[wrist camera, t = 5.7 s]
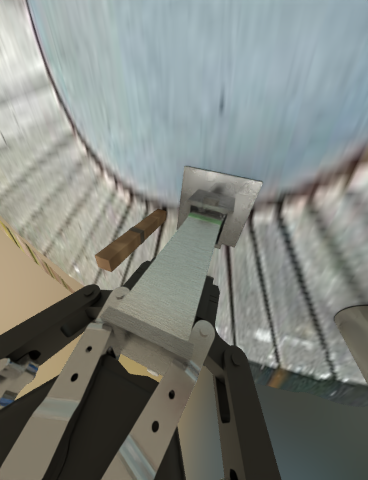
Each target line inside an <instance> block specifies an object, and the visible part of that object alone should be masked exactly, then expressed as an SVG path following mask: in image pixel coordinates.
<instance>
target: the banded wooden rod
mask: <svg viewBox="0 0 368 480" xmlns="http://www.w3.org/2000/svg"><path fill="white" fill-rule="evenodd" d="M166 212H167V211H163V210H160V209H157V210H156V211H154V212H153V213H152V214H150V215H149V216H148V217H146V218H145V219H143V220H142V221H141V222H139V223H138V224H137V225H135V226H134V227H132V228H130V229H129V230H128V231H127V232H126V233H124V234H123V235H122V236H120V237H119V238H118V239H116V240H115V241H114V242H112V243H111V244H109V245H108V246H107V247H105V248H104V249H103V250H101V251H100V252H99V253H97V254H96V255H95V258H96V261H97V264H98V267H100V268H102V269H105V270H107V271H110V272H112V271H113V270H114V269H115V268H116V267H117V266H119V265H120V264H121V263H122V262H123V261H124V260H125V259H126V258H127V257H128V256H129V255H130V254H131V253H132V252H133V251H134V250H135V249H136V248H137V247H138V246H139V245H140V244H142V243H143V242H144V241H145V240H146V239H147V238H148V237H149V236H150V235H151V234H152V233H153V232H154V231H155V230H156V229H157V228H158V227H159V226H160V225H161V224H162V223H163V222H164V221H165V220H166Z"/></svg>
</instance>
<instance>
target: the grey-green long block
mask: <svg viewBox="0 0 368 480" xmlns="http://www.w3.org/2000/svg"><path fill="white" fill-rule="evenodd" d="M221 223H222V217H219V216H215V215H211V214H207V213H204V212H200V211H196V210H193V211H192V212H191V213H190V214H189V215H188V217H187V219H186V220H185V221H184V222H183V224H182V225H181V226H180V228H179V229H178V230H177V232H176V233H175V234H174V235H173V237H172V238H171V239H170V241H169V242H168V243H167V244H166V246H165V247H164V248H163V250H162V251H161V252H160V253H159V255H158V256H157V257H156V259H155V260H154V261H153V263H152V264H151V265H150V266H149V268H148V269H147V270H146V272H145V273H144V274H143V275H142V277H141V278H140V279H139V281H138V282H137V283H136V284H135V286H134V287H133V288H132V290H131V291H130V292H129V294H128V295H127V296H126V297H125V299H124V300H123V301H122V303H121V304H120V305H119V306H118V308H117V309H115V308H113V307H111V306H108V308H107V309H106V310H105V311H104V312H103V314H102V315H101V316H100V319H101V321H102V323H103V324H104V325H107V326H109V327H111V328H113V330H114V333H115V335H116V338H117V341H118V344H119V346H120V349H121V354H123V355H125V356H126V357H128V358H130V359H132V360H134V361H136V362H138V363H140V364H141V365H143V366H145V367H147V368H149V369H151V370H153V371H155V372H157V373H159V374H160V375H162V376H164V374H165V373H166V371H167V369H168V368H169V366H170V364H171V363H172V361H173V359H174V358H175V359H177V360H178V361H180V362H182V363H184V364H185V365H187V366H188V365H189V363H190V361H191V357H192V353H193V349H194V344H191V343H189V342H188V340H189V336H190V333H191V329H192V326H193V322H194V318H195V315H196V311H197V308H198V304H199V300H200V297H201V293H202V290H203V286H204V282H205V279H206V275H207V272H208V268H209V264H210V261H211V257H212V254H213V250H214V246H215V243H216V239H217V235H218V232H219V229H220V226H221Z"/></svg>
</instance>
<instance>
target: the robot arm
mask: <svg viewBox="0 0 368 480" xmlns="http://www.w3.org/2000/svg"><path fill="white" fill-rule="evenodd" d="M155 259H156V257H154V258H153V259H152V260H151V261H146V262H144V263H142V264H141V265H140V267H139V268H138V269H137V270H136V271H135V272H134V274H133V275H132V276H131V277H130V278H129V279H128V281H127V282H126V283H125V284H124V285H123V286H122V287H118V288H116V289H114V290H100V288H99V286H97V285H94V284H92V285H87V286H85V287H83V288H82V289H80V290H78V291H76V292H75V293H73V294H71V295H69V296H68V297H66V298H64V299H63V300H61V301H59V302H57V303H55V304H54V305H52V306H50V307H49V308H47V309H45V310H43V311H42V312H40V313H38V314H36V315H35V316H33V317H31V318H29V319H28V320H26V321H24V322H22V323H21V324H19V325H17V326H15V327H14V328H12V329H10V330H9V331H7V332H5V333H3V334H2V335H0V480H186V477H185V471H184V465H183V459H182V452H181V446H180V439H179V434H178V427H177V424H178V422H179V420H180V417H181V415H182V413H183V410H184V408H185V406H186V404H187V401H188V399H189V397H190V395H191V392H192V390H193V388H194V385H195V383H196V381H197V378H198V375H199V372H200V369H201V367H202V365H203V364H204V365H205V366H206V367H207V368H208V369H209V370H210V371H211V372H212V373H213V381H214V390H215V398H216V407H217V416H218V424H219V433H220V441H221V449H222V459H223V468H224V476H225V478H222V479H220V480H281V477H280V473H279V470H278V466H277V463H276V459H275V456H274V452H273V448H272V445H271V441H270V438H269V434H268V431H267V427H266V423H265V420H264V416H263V413H262V409H261V406H260V402H259V399H258V395H257V391H256V388H255V384H254V381H253V377H252V373H251V370H250V366H249V363H248V359H247V357H246V355H245V353H244V352H243V351H242V350H241V349H240V348H239V347H237V346H234V345H231V346H230V345H228V344H227V343H226V342H225V341H224V340H223V339H222V338H221V337H220V336H219V335H218V333H217V331H216V328H215V320H216V314H217V307H218V301H219V294H220V291H219V288H218V286H216V285H213V279H214V278H213V277H210V276H207V275H206V279H205V282H204V286H203V290H202V293H201V297H200V300H199V304H198V308H197V311H196V315H195V318H194V322H193V326H192V329H191V333H190V336H189V340H188V342H189V343H191V344H194V349H193V353H192V357H191V361H190V363H189V365H188V366H187V365H185V364H184V363H182V362H180V361H178V360H177V359H175V358H174V359H173V361H172V363H171V364H170V366H169V368H168V369H167V371H166V373H165V374H164V376H163V378H162V379H161V381H160V383H159V382H157V381H156V380H154V379H152V378H150V377H148V376H141V375H133V374H129V373H128V372H127V370H126V369H125V368H124V367H123V366H122V365H121V363H120V362H119V361H118V360H119V357H120V354H121V349H120V346H119V344H118V341H117V338H116V335H115V333H114V330H113V328H111V327H109V326H107V325H104V324H103V323H102V321H101V319H100V316H101V315H102V314H103V312H104V311H105V310H106V309H107V308H108V306H111V307H113V308H115V309H117V308H118V306H119V305H120V304H121V303H122V301H123V300H124V299H125V297H126V296H127V295H128V294H129V292H130V291H131V290H132V288H133V287H134V286H135V284H136V283H137V282H138V281H139V279H140V278H141V277H142V275H143V274H144V273H145V272H146V270H147V269H148V268H149V266H150V265H151V264H152V263H153V261H154V260H155ZM334 321H335V323H336V325H337V327H338V329H339V331H340V333H341V335H342V337H343V339H344V340H345V342H346V344H347V346H348V348H349V350H350V352H351V354H352V356H353V358H354V360H355V361H356V363H357V365H358V367H359V369H360V371H361V373H362V375H363V377H364V378H365V380H366V382H367V384H368V306H356V307H351V308H348V309H345V310H342V311H341V312H339V313H338V314H337V315H336V316H335V319H334ZM83 332H84V333H83ZM82 333H83V335H82V336H81V338H80V340H79V342H78V343H77V345H76V347H75V349H74V350H73V352H72V354H71V355H70V357H69V359H68V361H67V362H66V364H65V366H64V368H63V369H62V371H61V373H60V374H59V375H58V376H56V377H54V378H53V379H51V380H49V381H47V382H46V383H44V384H42V385H41V386H39V387H37V388H36V389H34V390H32V391H30V392H29V393H27V394H25V395H24V396H22V397H21V398H19V399H17V400H15V398H16V396H17V395H18V393H19V392H20V391H21V390H22V389H23V388H24V386H25V385H27V384H29V383H30V382H31V381H32V380H33V379H34V378H35V376H36V372H37V370H38V367H39V366H40V365H42V364H43V363H44V362H45V361H47V360H48V359H49V358H51V357H52V356H53V355H54V354H56V353H57V352H58V351H60V350H61V349H62V348H64V347H65V346H66V345H67V344H69V343H70V342H71V341H72V340H74V339H75V338H77V337H78V336H79V335H80V334H82ZM14 400H15V401H14Z"/></svg>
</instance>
